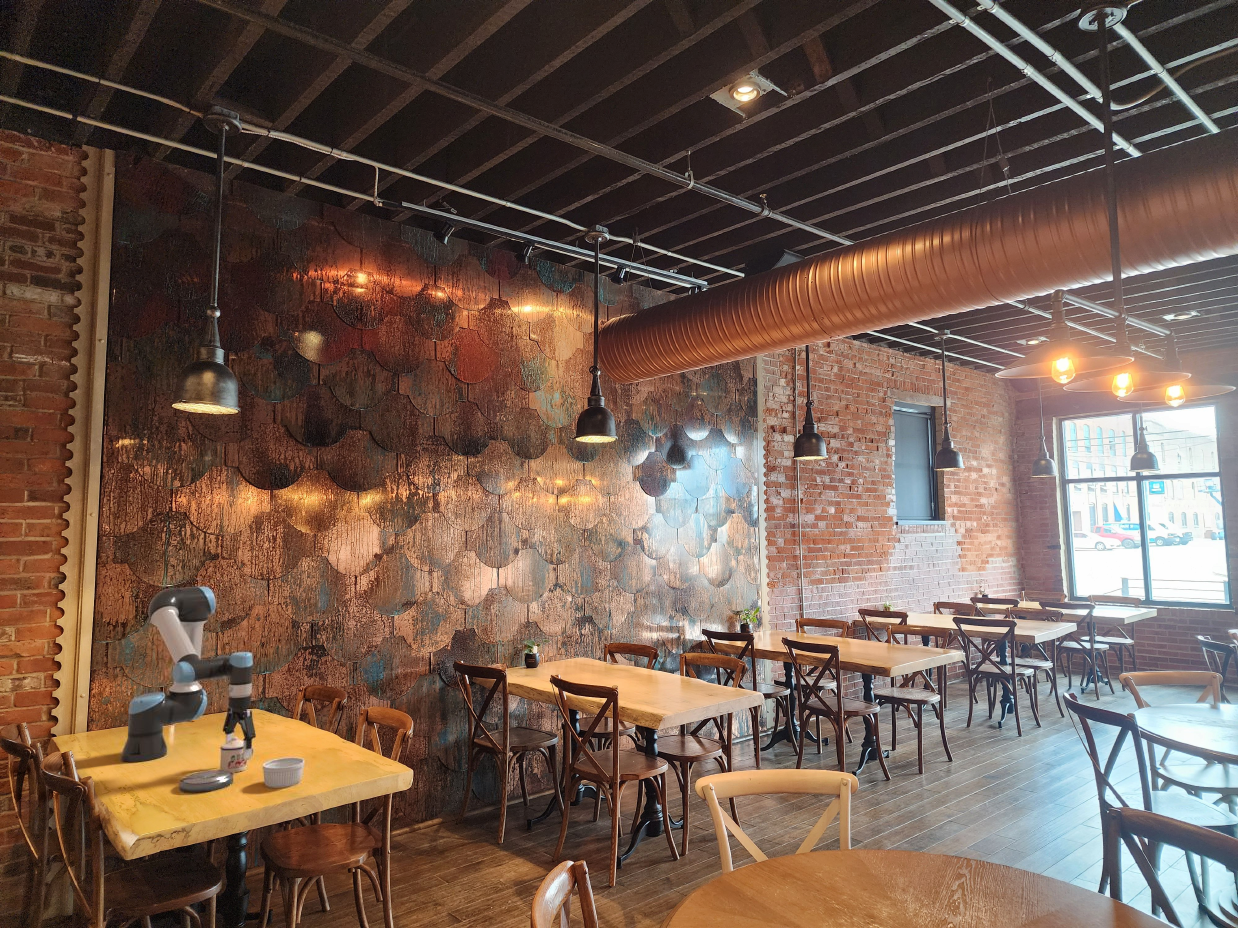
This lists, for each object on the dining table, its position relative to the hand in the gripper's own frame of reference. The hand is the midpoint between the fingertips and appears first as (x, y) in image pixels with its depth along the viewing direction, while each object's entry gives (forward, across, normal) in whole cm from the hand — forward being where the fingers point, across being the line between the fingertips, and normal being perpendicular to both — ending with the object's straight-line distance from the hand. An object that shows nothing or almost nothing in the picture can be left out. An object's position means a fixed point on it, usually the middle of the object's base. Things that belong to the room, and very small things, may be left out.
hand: (238, 754), depth 275 cm
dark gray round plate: (+5, +10, -15) cm, 19 cm away
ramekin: (+6, +29, +2) cm, 29 cm away
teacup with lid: (+5, 0, 0) cm, 5 cm away
